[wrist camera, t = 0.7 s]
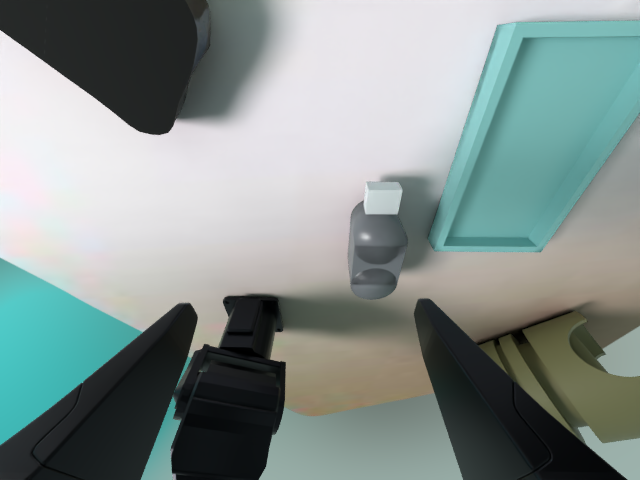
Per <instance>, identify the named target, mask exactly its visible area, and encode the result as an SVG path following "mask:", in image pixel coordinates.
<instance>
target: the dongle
mask: <svg viewBox="0 0 640 480" xmlns="http://www.w3.org/2000/svg"><path fill="white" fill-rule="evenodd" d="M402 192H403V190H402V188H401V186H400V184H399V182H366V188H365V197H364V201H362V202H360V203H359V204H358V205H357V206H356V207H355V208H354V209H353V211H352V214H351V220H350V233H349V246H348V264H349V274H350V284H351V289H352V291H353V293H354V294H355V295H357V296H358V297H360V298H363V299H370V300H373V299H380V298H383V297H386V296H388V295H389V294H391V293H392V292H393V291H394V290H395V288H396V286H397V282H398V278H399V275H400V271H401V267H402V263H403V260H404V256H405V252H406V249H407V244H408V239H407V236H406V233H405V231H404V229H403V226H402V224H401V222H400V219H399V217H398V215H397V214H398V210H399V206H400V201H401V196H402Z"/></svg>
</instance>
